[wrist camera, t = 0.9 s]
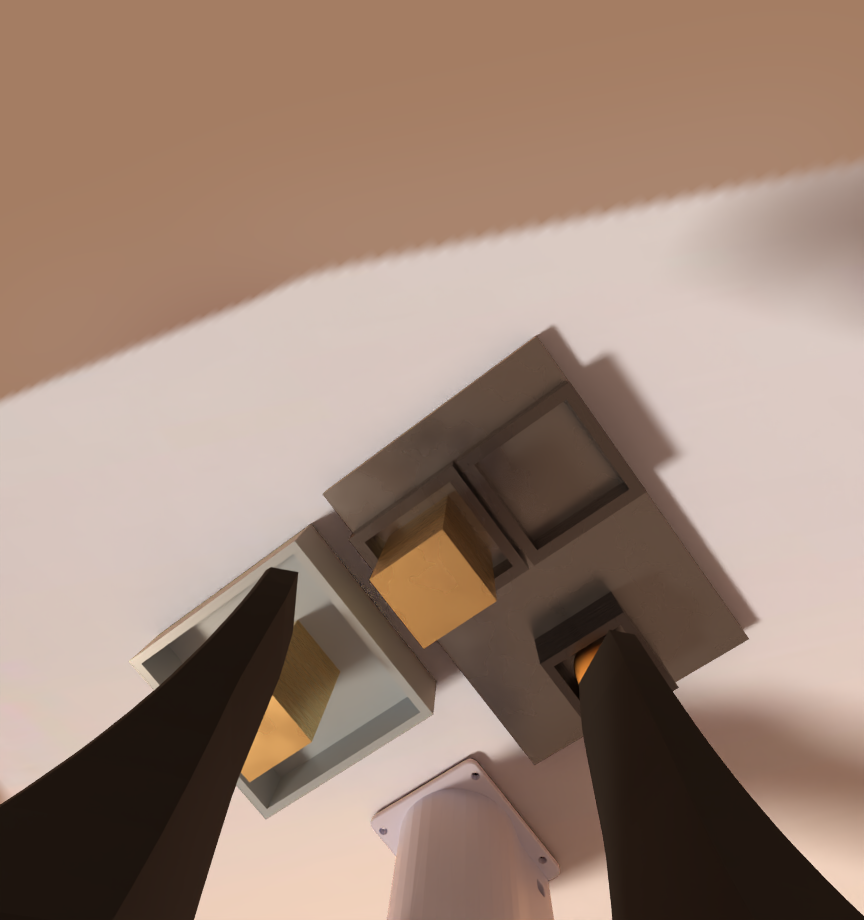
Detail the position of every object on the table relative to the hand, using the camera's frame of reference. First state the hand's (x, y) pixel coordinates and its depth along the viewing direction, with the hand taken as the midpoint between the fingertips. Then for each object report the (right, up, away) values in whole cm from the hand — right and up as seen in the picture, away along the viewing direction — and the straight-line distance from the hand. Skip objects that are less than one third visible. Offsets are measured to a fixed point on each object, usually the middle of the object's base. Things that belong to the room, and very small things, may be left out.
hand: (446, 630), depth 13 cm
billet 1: (-8, -8, +20) cm, 23 cm away
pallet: (+5, -2, +18) cm, 19 cm away
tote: (-8, -8, +20) cm, 23 cm away
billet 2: (0, -1, +17) cm, 17 cm away
